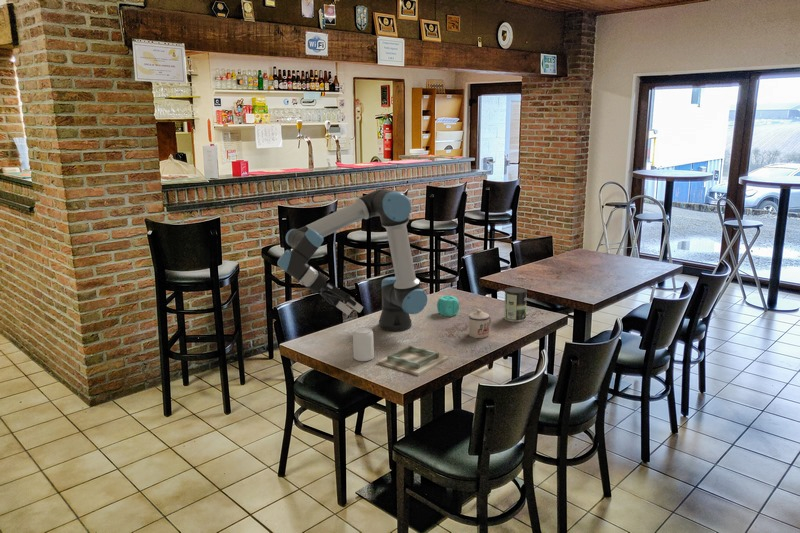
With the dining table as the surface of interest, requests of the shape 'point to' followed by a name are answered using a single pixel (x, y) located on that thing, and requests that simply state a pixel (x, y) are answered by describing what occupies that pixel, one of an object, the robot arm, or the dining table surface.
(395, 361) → the board
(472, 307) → the dining table surface
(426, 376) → the dining table surface
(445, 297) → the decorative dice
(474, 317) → the teacup with lid
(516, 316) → the coffee can
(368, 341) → the beverage can
